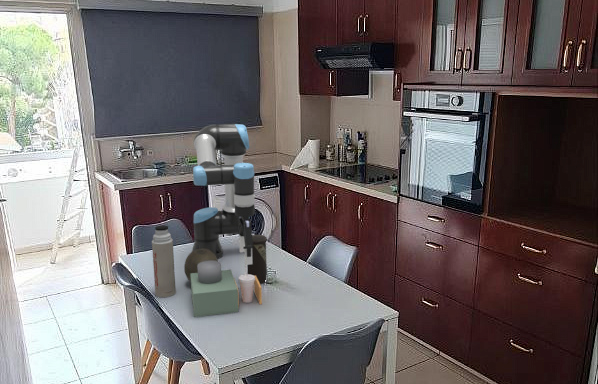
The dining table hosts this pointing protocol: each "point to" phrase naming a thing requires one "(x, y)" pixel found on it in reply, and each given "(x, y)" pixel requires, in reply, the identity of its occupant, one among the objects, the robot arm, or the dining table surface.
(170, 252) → the thermos bottle
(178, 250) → the dining table surface
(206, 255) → the cantaloupe
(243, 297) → the smoothie
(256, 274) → the container
